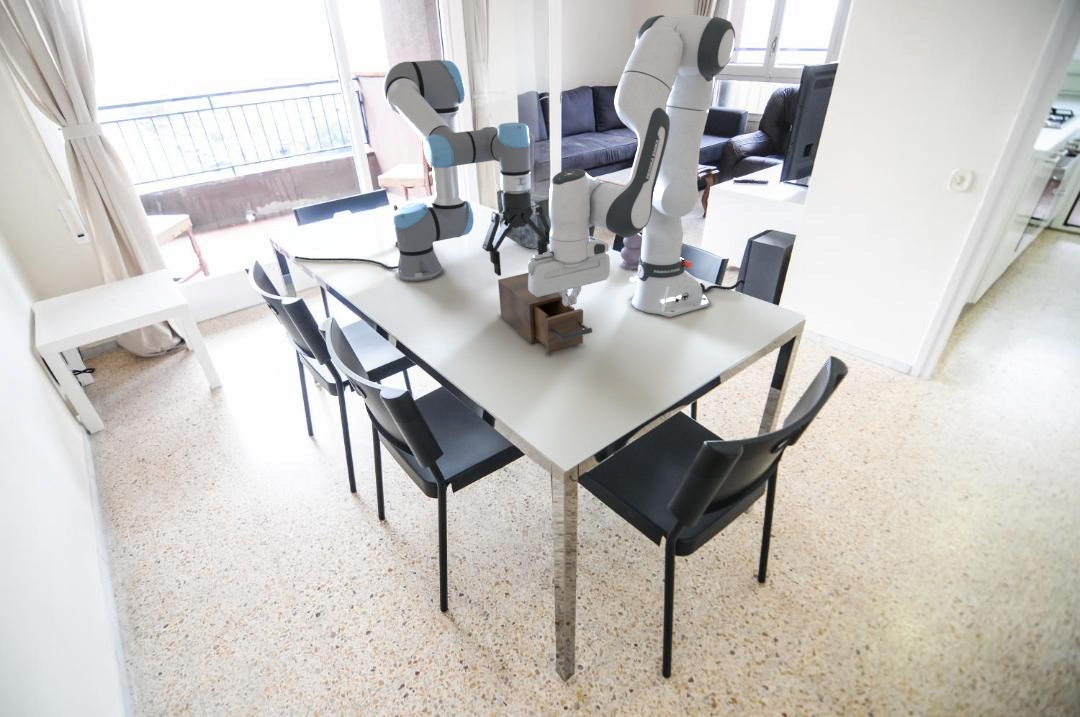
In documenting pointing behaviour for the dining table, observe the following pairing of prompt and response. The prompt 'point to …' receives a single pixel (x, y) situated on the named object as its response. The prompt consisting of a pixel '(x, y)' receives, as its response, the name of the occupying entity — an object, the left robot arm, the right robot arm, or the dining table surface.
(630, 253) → the cat figurine
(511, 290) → the cabinet
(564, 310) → the drawer
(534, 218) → the concrete block
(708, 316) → the dining table surface
